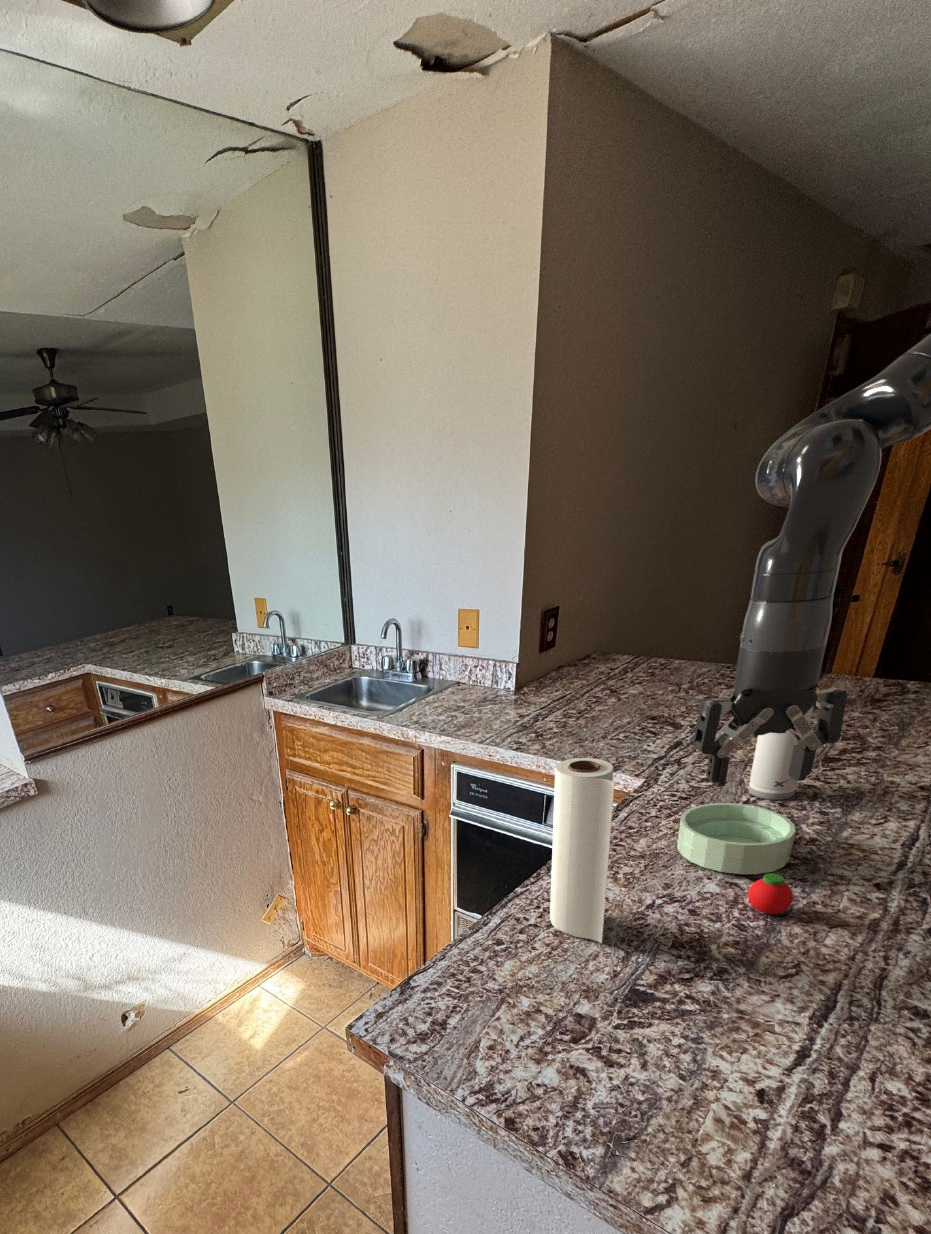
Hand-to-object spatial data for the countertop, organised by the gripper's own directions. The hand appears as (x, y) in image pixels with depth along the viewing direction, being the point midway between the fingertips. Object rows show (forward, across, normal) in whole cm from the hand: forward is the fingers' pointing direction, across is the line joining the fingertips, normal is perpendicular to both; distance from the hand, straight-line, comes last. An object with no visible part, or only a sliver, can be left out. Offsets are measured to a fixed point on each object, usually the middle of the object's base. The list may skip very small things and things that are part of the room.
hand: (756, 781), depth 76 cm
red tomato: (+16, +2, -4) cm, 16 cm away
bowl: (+16, +4, +10) cm, 19 cm away
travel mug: (+16, +19, +29) cm, 38 cm away
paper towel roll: (+16, -21, -5) cm, 27 cm away
